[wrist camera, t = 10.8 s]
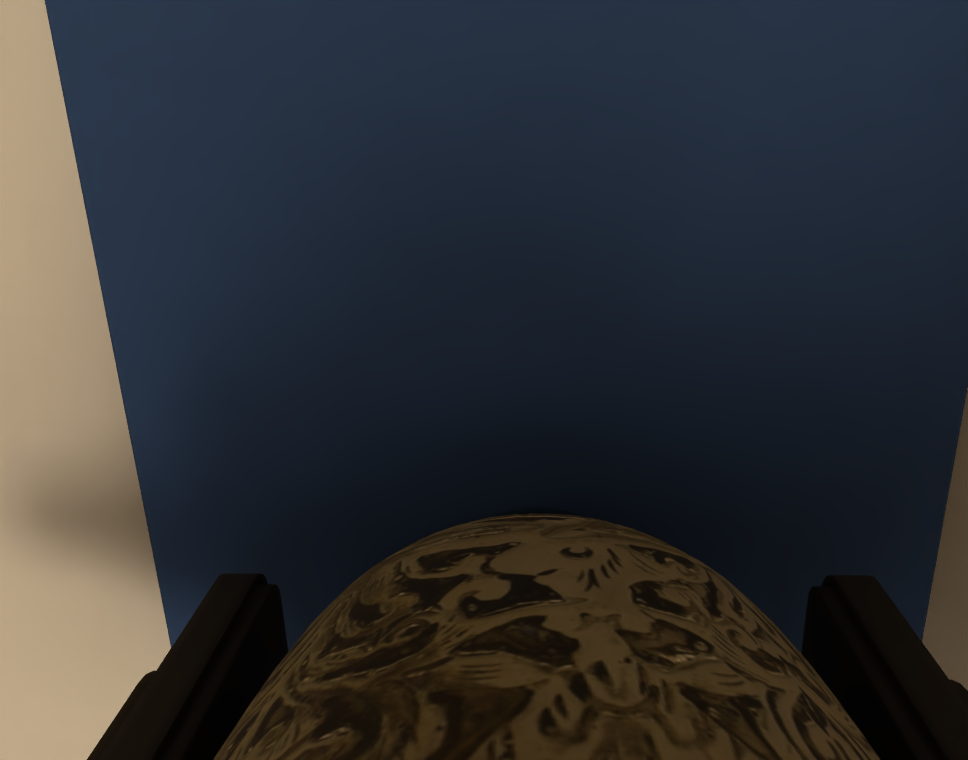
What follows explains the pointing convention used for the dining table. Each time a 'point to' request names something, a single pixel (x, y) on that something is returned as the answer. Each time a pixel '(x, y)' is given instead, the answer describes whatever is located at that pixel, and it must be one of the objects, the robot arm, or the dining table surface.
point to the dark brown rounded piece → (543, 659)
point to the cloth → (531, 278)
